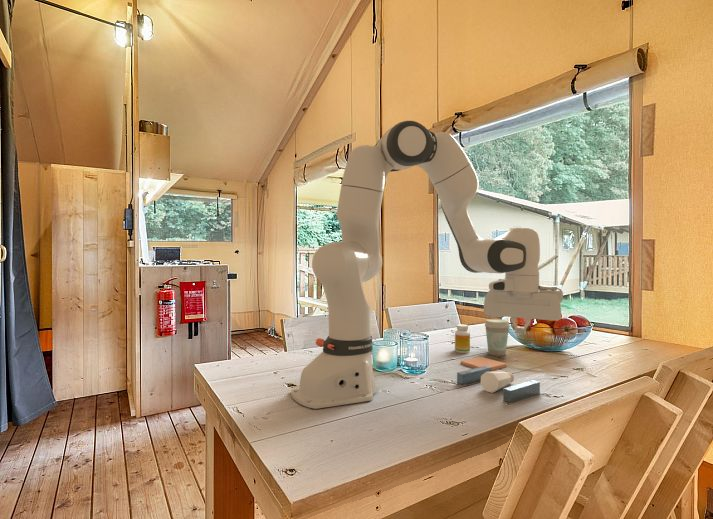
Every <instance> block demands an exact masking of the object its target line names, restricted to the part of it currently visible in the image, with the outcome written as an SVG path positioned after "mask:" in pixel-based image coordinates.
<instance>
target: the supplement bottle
mask: <svg viewBox="0 0 713 519" xmlns="http://www.w3.org/2000/svg"><path fill="white" fill-rule="evenodd" d="M470 333H471V332H470V331H469V325H468V324H463V323H462V324H459V323H458V324H456V330H455V331H454V351H455V352H456V353H459V354H468V352H469V353H470V352H471V334H470Z"/></svg>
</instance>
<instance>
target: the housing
mask: <svg viewBox="0 0 713 519" xmlns="http://www.w3.org/2000/svg"><path fill="white" fill-rule="evenodd" d="M485 372H492V371H491V367H488V366H483V367H478V368H471V369H467V370H462V371H458V372H456V374H457V375H456V382H457V384H458V385H461V386H465V385H469V384H472V383H477V382H481V376H482V375H483V374H484V373H485ZM502 389H503V391H502V392H503V393H502V395H503V398H502V399H503V400H502V401H503V402H506V403H509V404H512V403H515V402H518V401H521V400H525V399H528V398H530V397H534V396H538V395H540V394H541V392H540V391H541V383H540V381H538V380H535V379H532V380H528V381H524V382H521V383H518V384H514V385H510V386H508V387H507V386H506V387H503V388H502Z"/></svg>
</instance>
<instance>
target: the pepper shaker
mask: <svg viewBox="0 0 713 519" xmlns="http://www.w3.org/2000/svg"><path fill="white" fill-rule="evenodd" d="M514 381H515V376H514V374H513V373H511V372H508V371H507V372H505V371H491V372H485V373H484V374H483V375H482V376H481V381H480V386H481V387H482V389H484V392H488V393H491V394H493V393H496V392H497V391H499V390H501V389H503V388H506V387H507V386H508V385H509V384H511V383H513V382H514Z"/></svg>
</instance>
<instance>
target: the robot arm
mask: <svg viewBox="0 0 713 519" xmlns="http://www.w3.org/2000/svg"><path fill="white" fill-rule="evenodd" d="M414 166H417V167H419V168H421V169H422V170H423V171H424V173H425V174H426V175H427V176H428V178H429V181H430V182H431V184H432V186H433V187H434V189H435V190H434V191H435V192H436V193H437V196H438V199H439V202H440V205H441V209H442V213H443V216H444V217H445V220H446V222H447V224H448V227H449V229H450V231H451V234H452V236H453V238H454V240H455V242H456V245H457V250H458V257H459V260H460V263H461V264H460V265H462V268H464V269H465V270H466V271H468V272H469V273H475V274H476V273H477V274H478V273H487V274H504V275H505V276H504V278H499V279H498V280H493V281H490V282H489V283H488V289H489V290H488V291H487V292H486V294H485V297H484V301H483V313H484V315H485V316H493V317H495V316H496V317H506V318H507V317H508V318H510V321H511V324H512V325H513V327H514V334H518V335H519V334H520V335H521V334H522V335H527V328H528V327H529V326H530V324H531V320H542V321H543V320H544V321H555V322H556V321H557V322H558V321H559V320H561V318H562V307H561V303H562V302H563V300H564V292H563V290H562V289H560V288H559V287H557V286H555V285H554V286H553V285H552V286H548V285H540V272H539V263H540V259H541V257H540V256H541V244H540V238H539V234H538V232H537V230H535V229H533V228H530V227H523V226H512V227H510V228H509V229H508V231H506V232H505V233H503V234H501V235H499V236H496V237H494V238H482V237H480V236H479V235H478V234H477V232H476V230H475V227H474V225H473V223H472V220H471V218H470V216H469V213H468V206H469V204H470V202H471V201H472V200H473V199H474V198H475V196H476V195H477V192H478V189H479V186H480V185H479V182H480V181H479V178H478V176H477V172H476V170H475V168H474V166H473V164H472V163H471V161H470V159H469V157H468V156H467V154H466V152H465V151H464V150H463V147H461V145H460V143H459V142H458V141H457V140H456V139H455V138H454V136H453V135H452V134H450V133H449V132H445V131H440V132H435V133H434V132H432V131H431V130H429V129H428V128H427V127H425V126H424V125H423V124H421V123H420V122H417V121H415V120H404V121H401V122H398V123H396V124H395V125H394V126H393V127H390V128H389V129H388V130H387V131H385V133H384V134H383V135H382V136H381V138H379V139H378V141H377V143H375V145H369V144H363V145H359V146H356V147H354V148H353V149H352V150H351V152H350V154H349V156H348V159H347V162H346V165H345V166H344V171H343V174H342V179H341V180H342V181H341V186H340V191H339V195H338V196H339V198H338V203H337V210H336V219H337V221H338V223H339V226H340V230H341V241H333V242H329V243H327V244H324V245H321V246H320V247H318V249H316V251H315V252H314V254H313V257H312V260H311V268H312V271H313V274H314V276H315V277H316V278H317V279H318V281H319V282H320V284H321V285H322V288H323V291H324V294H325V295H324V296H325V299H326V303H327V308H328V309H327V310H328V336H327V337H326V339H325V340H324V339H322V338H320V337H318V338H316V340H315V345H316V346H317V347H320V348H322V351H321V352H320V353H319V354H318V355H317V356H316V357H315V358H314V359H313V360H311V362H309V363H308V364H307V365H306V366H305V367H304V368H303V369H302V371H301V375H300V378H299V385H298V386H294V387H292V388H291V392H290V396H291V398H292V399H293V400H294V401H295V402H297V403H298V404H300V405H301V406H304V407H306V408H309V409H315V410H317V409H322V408H323V409H324V408H329V407H337V406H343V405H350V404H356V403H357V404H358V403H364V402H368V401H372V400H373V397H374V396H373V395H375V394H376V392H377V391H378V388H377V384H376V381H375V375H374V370H373V360H372V352H373V336H372V335H371V334H372V333H371V331H372V330H371V329H372V328H371V327H372V326H371V325H372V324H371V322H372V321H371V317H372V316H371V314H372V313H371V312H372V311H371V310H372V309H371V306H370V303H369V302H368V301H367V299H366V294H365V293H364V288H363V283H364V282H368V281H370V280H372V279H373V278H375V277H376V276H377V275H378V274H379V273H380V272H381V270H382V268H383V256H382V254H381V252H380V245H379V244H380V242H379V241H380V239H379V223H380V216H381V209H382V202H383V197H384V190H385V183H386V180H387V177H388V176H389V173H390V172H391V173H392V172H399V171H402V170H407V169H411V168H412V167H414ZM517 318H518V319H524V320H525V324H524V325H523V326H518V324H517V323H516V322H517Z"/></svg>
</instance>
